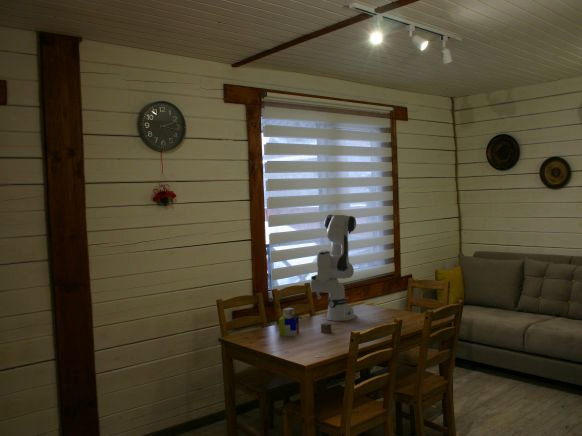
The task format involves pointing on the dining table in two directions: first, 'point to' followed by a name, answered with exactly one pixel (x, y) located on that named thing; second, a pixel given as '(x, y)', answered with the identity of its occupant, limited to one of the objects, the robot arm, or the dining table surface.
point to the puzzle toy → (289, 326)
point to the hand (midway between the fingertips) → (325, 299)
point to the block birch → (288, 313)
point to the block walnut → (326, 327)
